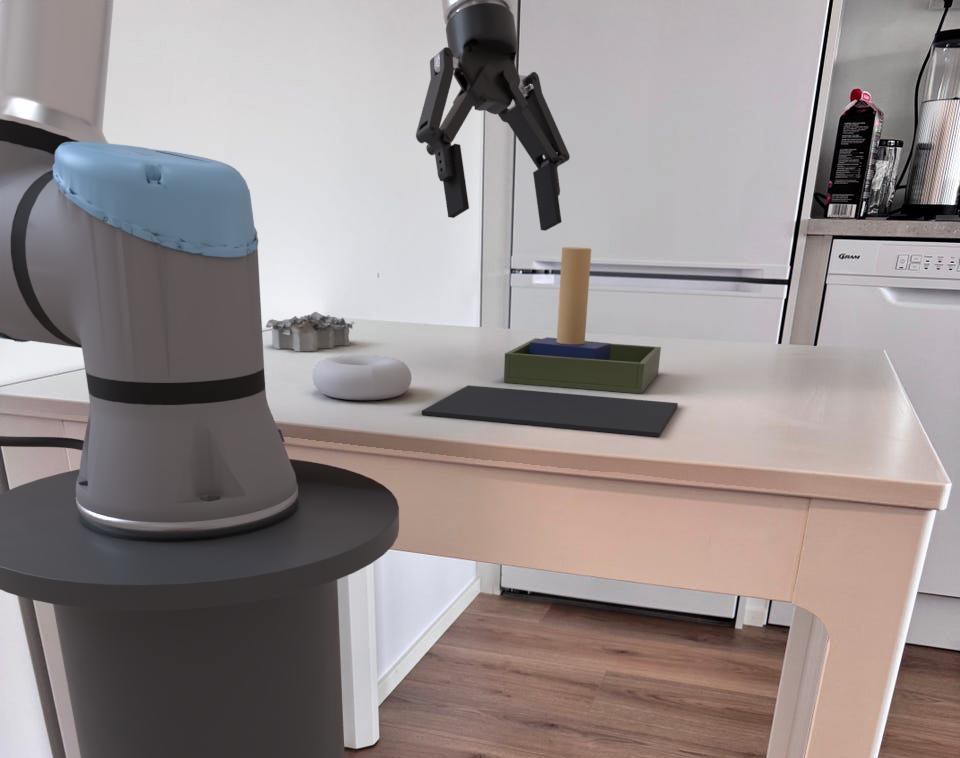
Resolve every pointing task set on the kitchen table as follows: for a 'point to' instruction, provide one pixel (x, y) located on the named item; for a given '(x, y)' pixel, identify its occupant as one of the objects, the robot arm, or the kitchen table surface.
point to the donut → (361, 377)
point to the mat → (556, 410)
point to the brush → (572, 312)
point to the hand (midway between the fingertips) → (506, 220)
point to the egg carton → (309, 332)
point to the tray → (585, 369)
